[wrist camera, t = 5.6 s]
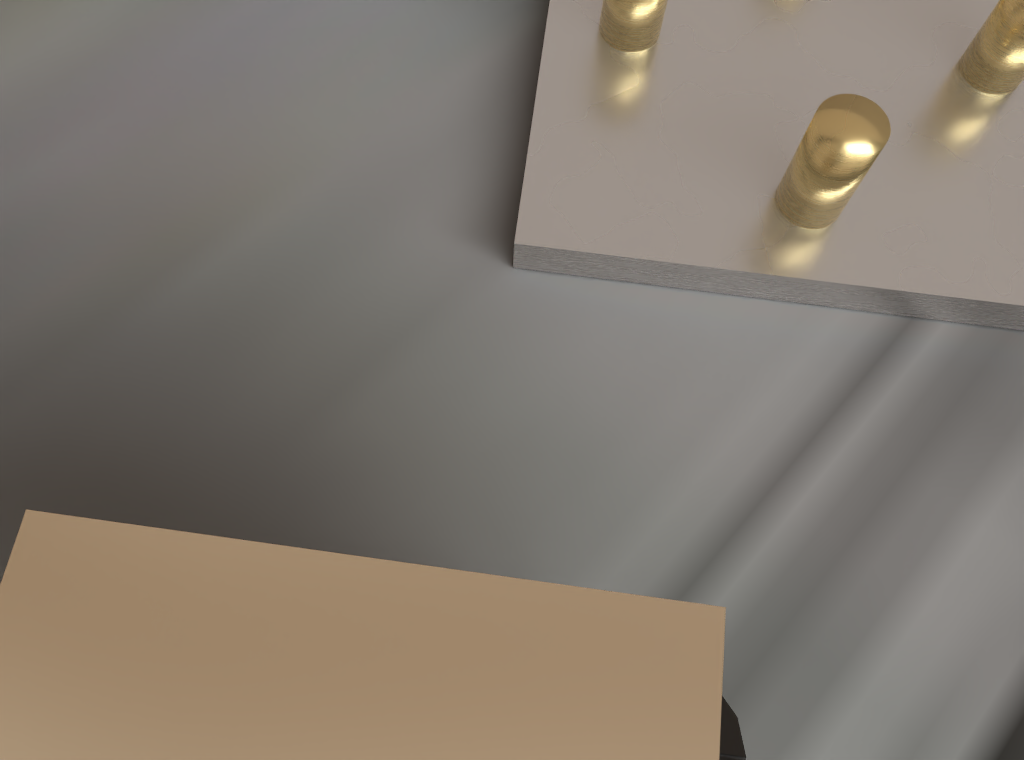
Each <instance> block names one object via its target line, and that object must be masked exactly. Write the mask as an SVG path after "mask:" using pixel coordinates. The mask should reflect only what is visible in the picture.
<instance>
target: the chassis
mask: <svg viewBox="0 0 1024 760" xmlns="http://www.w3.org/2000/svg"><path fill="white" fill-rule="evenodd" d="M513 268H520V269H528V270H536V271H545V272H553V273H561V274H569V275H577V276H585V277H593V278H601V279H609V280H618V281H626V282H634V283H642V284H650V285H658V286H666V287H674V288H682V289H691V290H699V291H707V292H715V293H723V294H731V295H739V296H747V297H755V298H764V299H772V300H780V301H788V302H796V303H804V304H812V305H820V306H828V307H837V308H845V309H853V310H861V311H869V312H877V313H885V314H893V315H902V316H910V317H918V318H926V319H934V320H942V321H950V322H958V323H966V324H975V325H983V326H991V327H999V328H1007V329H1015V330H1023V331H1024V0H550V2H549V9H548V16H547V23H546V30H545V36H544V43H543V50H542V57H541V64H540V71H539V77H538V84H537V91H536V98H535V105H534V112H533V118H532V125H531V132H530V139H529V146H528V153H527V159H526V166H525V173H524V180H523V187H522V194H521V200H520V207H519V214H518V221H517V228H516V234H515V241H514V258H513Z"/></svg>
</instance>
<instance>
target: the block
mask: <svg viewBox="0 0 1024 760" xmlns="http://www.w3.org/2000/svg"><path fill="white" fill-rule="evenodd" d="M725 611H726V607H719V606H712V605H705V604H698V603H691V602H683V601H676V600H669V599H662V598H655V597H648V596H641V595H633V594H626V593H619V592H612V591H605V590H598V589H591V588H583V587H576V586H569V585H562V584H555V583H548V582H541V581H533V580H526V579H519V578H512V577H505V576H498V575H491V574H483V573H476V572H469V571H462V570H455V569H448V568H441V567H433V566H426V565H419V564H412V563H405V562H398V561H391V560H383V559H376V558H369V557H362V556H355V555H348V554H341V553H333V552H326V551H319V550H312V549H305V548H298V547H290V546H283V545H276V544H269V543H262V542H255V541H248V540H241V539H233V538H226V537H219V536H212V535H205V534H198V533H190V532H183V531H176V530H169V529H162V528H155V527H148V526H140V525H133V524H126V523H119V522H112V521H105V520H98V519H90V518H83V517H76V516H69V515H62V514H55V513H48V512H40V511H33V510H26V511H25V514H24V517H23V520H22V523H21V526H20V529H19V532H18V535H17V537H16V540H15V543H14V546H13V549H12V552H11V555H10V558H9V561H8V564H7V567H6V569H5V572H4V575H3V578H2V581H1V584H0V760H719V752H720V729H721V705H722V681H723V658H724V634H725Z"/></svg>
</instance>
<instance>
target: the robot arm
mask: <svg viewBox="0 0 1024 760" xmlns="http://www.w3.org/2000/svg"><path fill="white" fill-rule="evenodd" d="M719 760H746V754H745V750H744V745H743V741H742V736H741V732H740V727H739V723H738V718H737V716H736V715H735V713H734V712H733V710H732V709H731V708H730V706H729V705H728V703H727V702H726V701H725V699H724V698H723V696H722V705H721V729H720V752H719Z"/></svg>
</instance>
